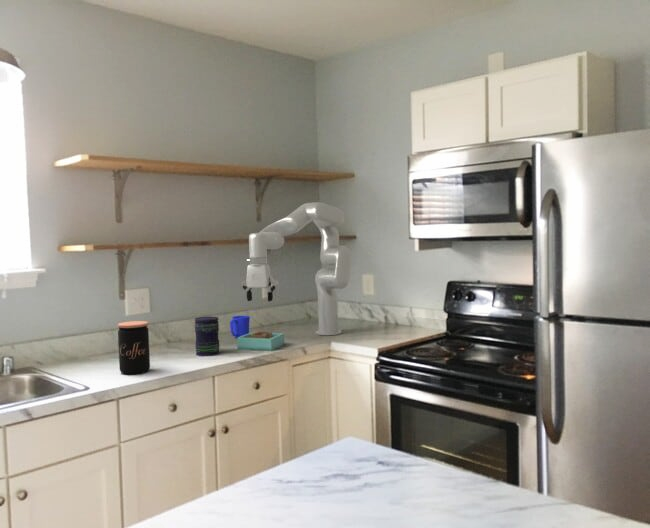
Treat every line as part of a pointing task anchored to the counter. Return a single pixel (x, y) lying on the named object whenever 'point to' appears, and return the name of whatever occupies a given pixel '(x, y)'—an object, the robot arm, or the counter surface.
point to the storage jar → (207, 336)
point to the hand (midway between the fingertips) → (259, 300)
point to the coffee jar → (133, 347)
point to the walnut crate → (261, 335)
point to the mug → (239, 326)
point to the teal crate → (260, 342)
